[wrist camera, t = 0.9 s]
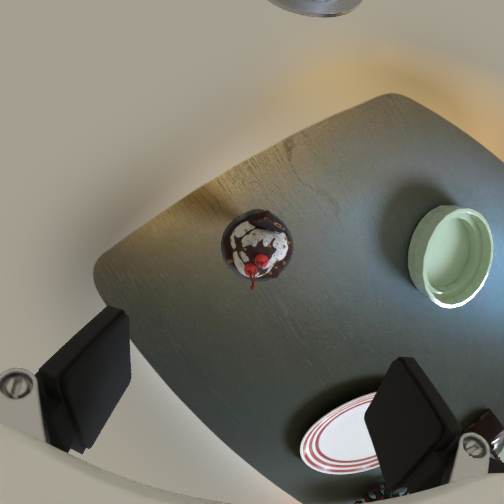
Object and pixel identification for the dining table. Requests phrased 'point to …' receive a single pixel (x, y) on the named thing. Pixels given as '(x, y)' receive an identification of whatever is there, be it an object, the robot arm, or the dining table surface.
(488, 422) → the coffee grinder
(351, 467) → the dinner plate
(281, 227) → the sundae
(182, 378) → the dining table surface
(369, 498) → the virus model
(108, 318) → the robot arm
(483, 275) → the bowl
